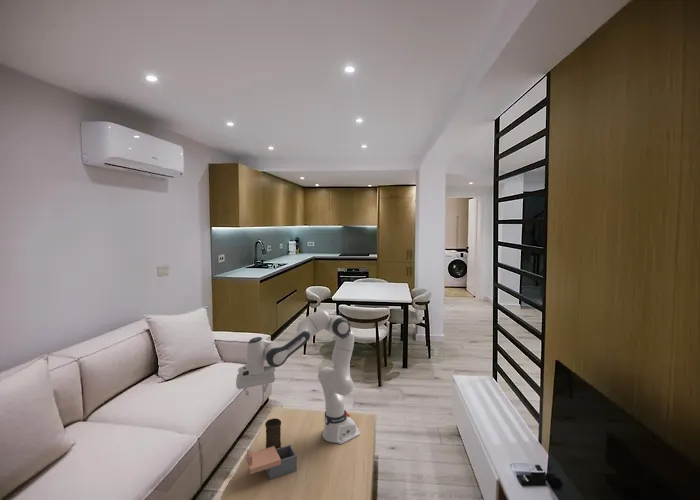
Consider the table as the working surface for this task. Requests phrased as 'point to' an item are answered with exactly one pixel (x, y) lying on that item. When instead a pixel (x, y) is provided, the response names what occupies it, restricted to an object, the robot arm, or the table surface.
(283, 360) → the robot arm
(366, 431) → the table surface
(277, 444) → the container
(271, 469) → the tub
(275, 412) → the table surface
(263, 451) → the lid
